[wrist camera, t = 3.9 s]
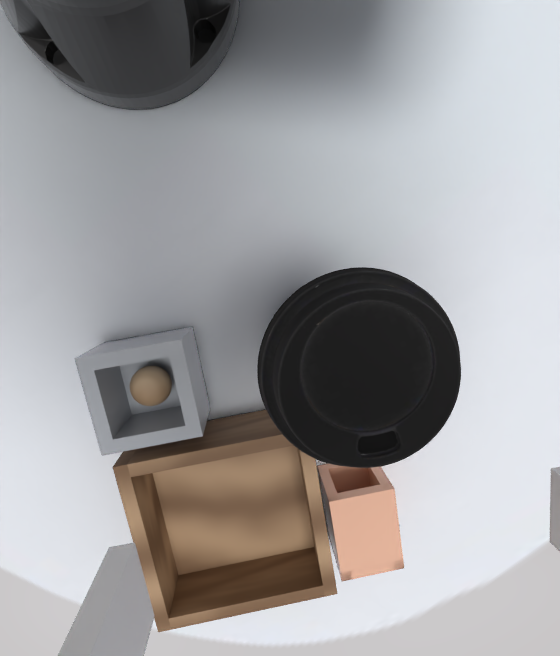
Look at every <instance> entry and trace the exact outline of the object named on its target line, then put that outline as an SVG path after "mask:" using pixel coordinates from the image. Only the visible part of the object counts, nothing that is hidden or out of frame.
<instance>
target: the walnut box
mask: <svg viewBox="0 0 560 656" xmlns="http://www.w3.org/2000/svg"><path fill="white" fill-rule="evenodd" d="M113 470H114V474H115V477H116V481H117V485H118V488H119V492H120V495H121V499H122V503H123V506H124V510H125V513H126V517H127V521H128V524H129V528H130V532H131V535H132V539H133V542H134V543H135V545H136V549H137V553H138V556H139V560H140V564H141V567H142V571H143V575H144V579H145V582H146V586H147V590H148V593H149V597H150V601H151V605H152V608H153V612H154V618H155V622H156V626H157V629H158V632H162V631H167V630H171V629H176V628H181V627H185V626H190V625H194V624H199V623H204V622H208V621H213V620H218V619H222V618H227V617H232V616H236V615H241V614H246V613H250V612H255V611H260V610H264V609H269V608H274V607H278V606H283V605H288V604H292V603H297V602H301V601H306V600H311V599H315V598H320V597H325V596H329V595H334V594H337V588H336V582H335V576H334V570H333V564H332V558H331V552H330V546H329V540H328V534H327V527H326V521H325V515H324V509H323V503H322V497H321V491H320V485H319V479H318V473H317V467H316V460H315V458H313V457H311V456H308V455H307V454H305V453H303V452H302V451H300V450H299V449H298V448H296V447H295V446H294V445H293V444H291V443H290V442H289V441H288V440H287V439H286V438H285V437H284V436H283V435H282V433H281V432H280V431H279V429H278V428H277V427H276V425H275V424H274V422H273V421H272V419H271V418H270V416H269V414H268V412H267V410H261V411H256V412H251V413H245V414H240V415H235V416H230V417H224V418H219V419H214V420H209V421H207V423H206V426H205V430H204V434H203V436H202V437H196V438H191V439H186V440H181V441H176V442H170V443H165V444H160V445H155V446H149V447H144V448H139V449H134V450H129V451H123V453H122V454H121V456H120V457H119V459H118V460H117V462H116V463H115V465H114V466H113Z"/></svg>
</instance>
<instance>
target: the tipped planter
mask: <svg viewBox="0 0 560 656" xmlns="http://www.w3.org/2000/svg"><path fill="white" fill-rule="evenodd" d="M317 467H318V473H319V479H320V486H321V492H322V498H323V504H324V510H325V516H326V522H327V528H328V534H329V538H330V542H331V545H332V549H333V552H334V556H335V559H336V563H337V566H338V570H339V573H340V577H341V580H342V581H346V580H351V579H355V578H360V577H365V576H370V575H374V574H379V573H384V572H388V571H393V570H398V569H402V568H404V563H403V555H402V547H401V539H400V530H399V522H398V514H397V506H396V498H395V490H394V487H393V486H392V484H391V483H390V481H389V479H388V478H387V476H386V475H385V473H384V471H383V470H382V468H381V467H380V466H379V467H372V468H355V467H346V466H338V465H333V464H329V463H328V464H323V465H318V466H317Z"/></svg>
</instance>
